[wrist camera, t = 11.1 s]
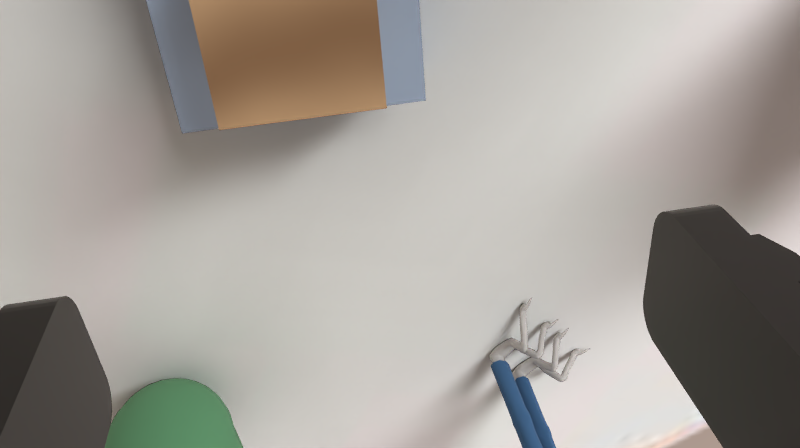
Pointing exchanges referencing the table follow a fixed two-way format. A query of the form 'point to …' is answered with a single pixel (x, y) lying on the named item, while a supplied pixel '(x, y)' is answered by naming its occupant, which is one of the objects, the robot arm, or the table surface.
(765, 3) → the table surface
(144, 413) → the alien toy
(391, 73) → the pedestal
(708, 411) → the robot arm
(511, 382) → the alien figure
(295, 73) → the walnut block
